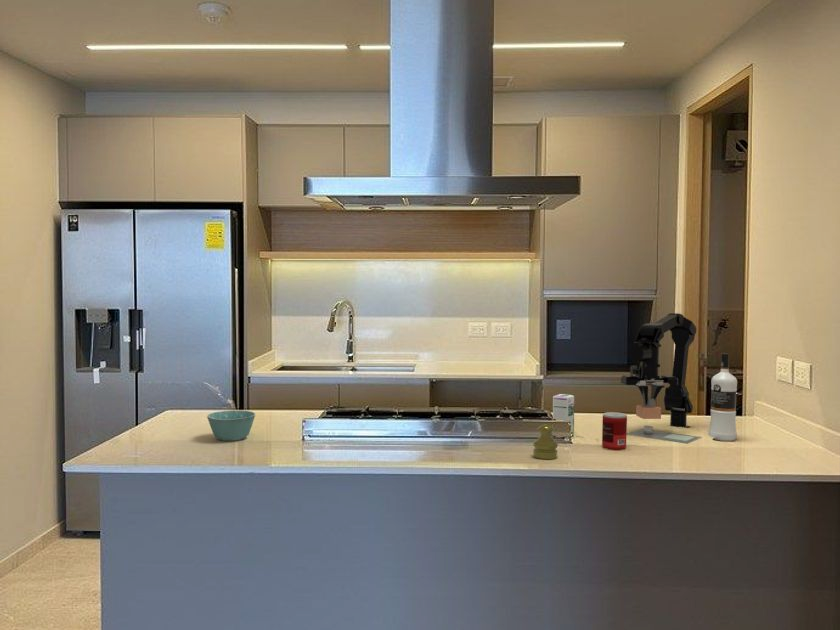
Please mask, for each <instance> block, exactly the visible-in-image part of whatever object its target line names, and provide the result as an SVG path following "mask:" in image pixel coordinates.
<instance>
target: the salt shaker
mask: <svg viewBox="0 0 840 630" xmlns="http://www.w3.org/2000/svg"><path fill="white" fill-rule="evenodd" d="M537 431H539V432H540V436H539V437H537V439H535V440H534V441H532V446H533V447H534V448H533V450H532V453H533V454H532V455H533V457H534V458H536V459H540V460H553V459H556V458H558V450H557V448H558V446H559V445H558V442H557V441H555V440H554V438H553V437H552V436H551V434H552V433H553V431H554V428H553V426H552V425H551V426H550V425H549V424H542V425H540V426H538V427H537Z"/></svg>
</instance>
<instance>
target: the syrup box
mask: <svg viewBox="0 0 840 630" xmlns="http://www.w3.org/2000/svg"><path fill="white" fill-rule="evenodd" d="M553 419H556V420H563V421H570V422H571V434H572V437H574V435H575V395H573V394H567V393H559V394H555V395H553V396H552V420H553Z"/></svg>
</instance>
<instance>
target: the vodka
mask: <svg viewBox="0 0 840 630" xmlns="http://www.w3.org/2000/svg"><path fill="white" fill-rule="evenodd" d="M720 357H721V358H720V372H718V373H716V374H714V376H712V378H711V382H710V383H711V388H710V389H711V399H710V405H711V406H710V409H709V410H710V422H709V427H708V428H709V429H708V430H707V431H708V433H707V435H708V436H709V437H711V438H712V440H713V439H714V441H718V440H720V442H733V441H735V440H737V438H738V433H737V426H736V425H737V424H736V421H737V420H736V416H737V411H736V410H737V391H738V379H737V378H736V376H734V375H733V374H732V373H730V371H729V370H730V353H727V352H722V353H720Z"/></svg>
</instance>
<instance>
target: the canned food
mask: <svg viewBox="0 0 840 630" xmlns="http://www.w3.org/2000/svg"><path fill="white" fill-rule="evenodd" d="M601 428H602V430H601V431H602V432H601V433H602V434H601V435H602V436H601V447H602V448H604V449H606V450H610V451H611V450H612V451H621V450H622V449H623V450H625V449H626V448H627V436H628V435H627V433H628V429H627V428H628V414H626V413H624V412H623V413H622V412H615V411H609V412H608V411H607V412H604V413H602V427H601ZM623 450H622V451H623Z"/></svg>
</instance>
